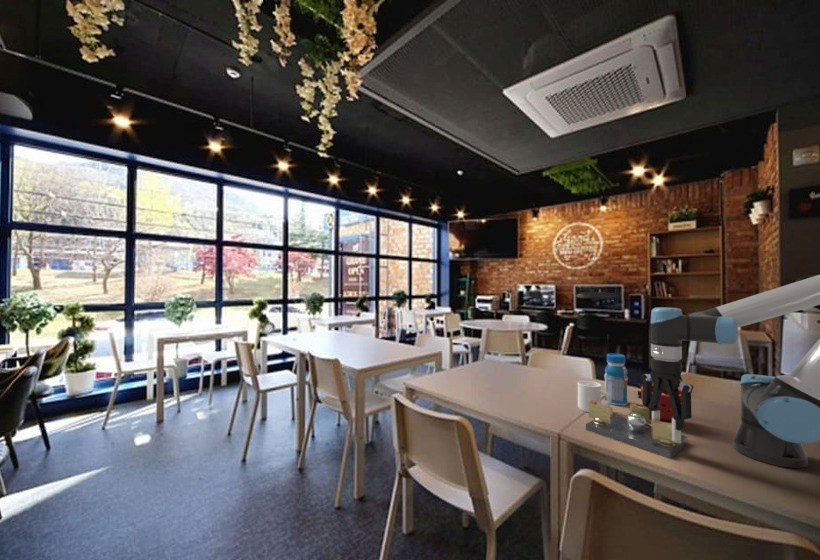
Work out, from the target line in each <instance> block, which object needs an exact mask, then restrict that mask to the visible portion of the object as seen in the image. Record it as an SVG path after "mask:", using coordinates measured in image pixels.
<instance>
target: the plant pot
mask: <svg viewBox="0 0 820 560" xmlns="http://www.w3.org/2000/svg"><path fill="white" fill-rule="evenodd" d="M653 386H654V385H652V393H653ZM678 390H679V398H680V401H681V391H682V390H681V389H680V388H678ZM640 391H641V397H642V399H641V400H642V401H641V402H642V403H643V386H642V387H641V389H640ZM643 407H646V406H643ZM658 408H659V409H656V410H659V411H660V422H665V423H672V418H673V417H675V416H674V412H673V408H672V404H671V400H670V397H669V395H668V393H667V391H666V390H663V391H662V395H661V398H660V401H659V405H658Z"/></svg>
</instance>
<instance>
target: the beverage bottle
mask: <svg viewBox="0 0 820 560" xmlns="http://www.w3.org/2000/svg"><path fill="white" fill-rule="evenodd" d="M606 362H607V364H606V366H605V368H604V372H605V373H604V375H603V376H604V391H606V392H607V393H608V394H609V396H610V398H611V405H614V406H620V407H621V406H626V405H627V404H628V380H629V377H628V376H627V375H628V370H627V368H626V366H625V364H626V356H625V355H624V354H621V353H607V354H606ZM604 401H605V402H606V403H607V398H606V396H605V395H604Z"/></svg>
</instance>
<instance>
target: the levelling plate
mask: <svg viewBox="0 0 820 560" xmlns="http://www.w3.org/2000/svg"><path fill="white" fill-rule="evenodd" d="M588 430H589V431H588ZM585 431H588V432H591V431H592V433H594V432H595V434H597V435H600V436H602V437H605V438H609V437H610V438H609V439H611V438H613V439H612V440H614V439H615V441H617V440H618V441H617V442H620V441H621V442H620V443H623V442H624V444H626V443H627V444H626V445H629V446H633V447H635V448H639V449H641V450H643V451H646V452H649V453H653V454H655V455H659V456H662V457H664V458H667V459H672V458H673V457H674V456H676V454H677V453H679V451H681V450H682V449H683V448H684V447H685V446H687V445H688V442H689V441H688V440H689V436H687V435H683V434H681V444H680V443H674V442H673V444H672V445H666V444H663V443H661V442H660V441H659V440H654V439H652V437H651V424H648V426H646V418H645V417H644V416H641V415H640V414H638V413H632V414H630V413H628V414H627V418H624V417H622V416H619V415H614V414H612V423H611V424H609V423H605V424H600V423H597V422H595V419H593V420H591V421H589V422H587V423H585Z"/></svg>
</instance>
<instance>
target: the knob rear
mask: <svg viewBox="0 0 820 560" xmlns="http://www.w3.org/2000/svg"><path fill="white" fill-rule="evenodd" d="M632 413H638V414H640V415H641V416H644V417H645V418H646V426H648V424H649V425H651V421H652V420H650V419H649V409H648V408H647V407H644V406H640V405H637V404H636V403H630V404H629V414H632Z"/></svg>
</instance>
